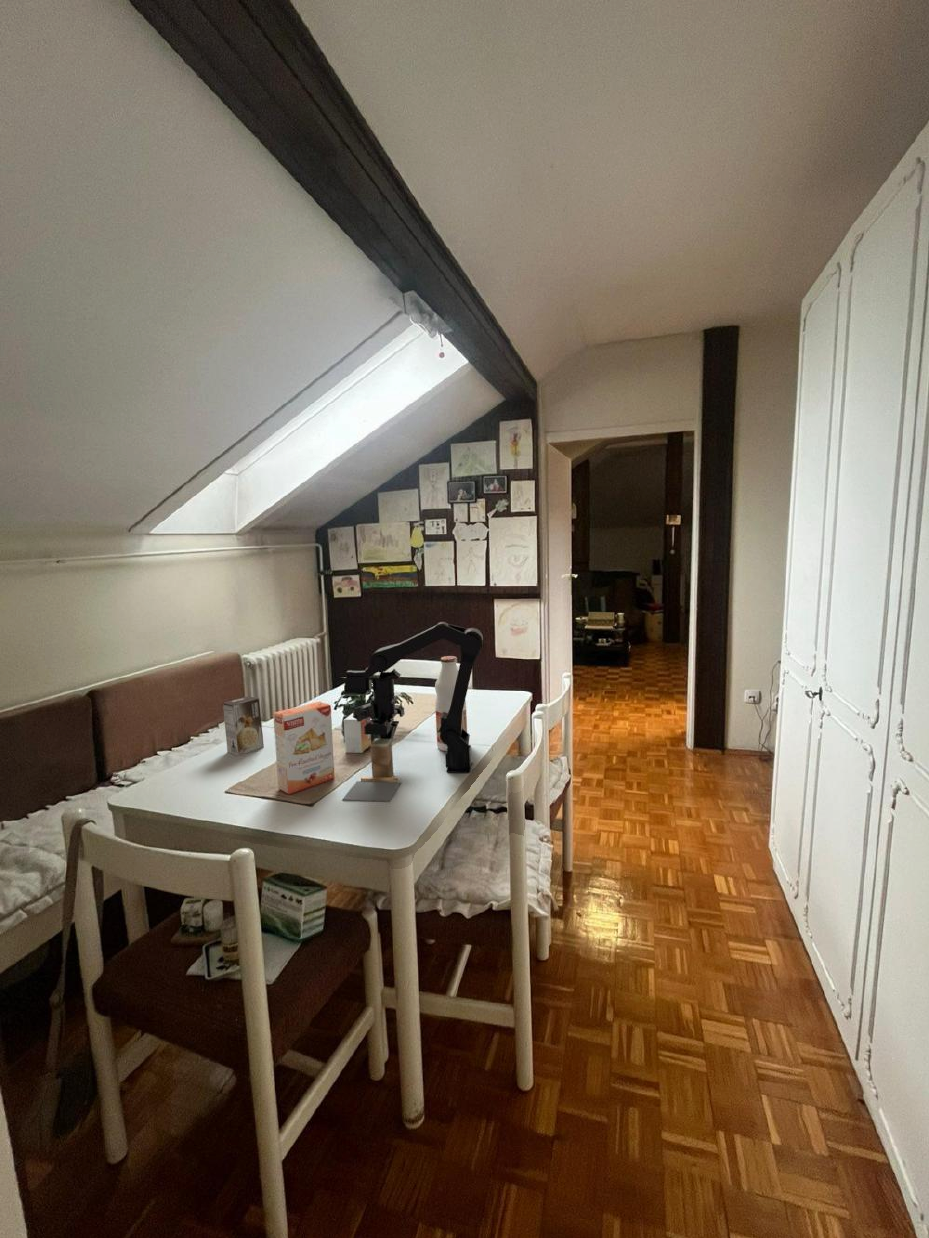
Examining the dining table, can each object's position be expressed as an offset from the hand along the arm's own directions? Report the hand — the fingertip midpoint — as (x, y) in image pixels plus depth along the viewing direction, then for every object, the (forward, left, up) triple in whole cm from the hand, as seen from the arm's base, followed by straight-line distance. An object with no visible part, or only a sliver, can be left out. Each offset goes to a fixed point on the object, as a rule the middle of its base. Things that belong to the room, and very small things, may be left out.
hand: (386, 748), depth 162 cm
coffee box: (+50, -13, -6) cm, 52 cm away
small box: (+14, -16, -6) cm, 22 cm away
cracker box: (+19, +11, -6) cm, 23 cm away
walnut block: (0, +5, -6) cm, 8 cm away
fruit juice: (-15, -19, -6) cm, 25 cm away
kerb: (0, +8, -6) cm, 10 cm away
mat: (0, +14, -6) cm, 16 cm away
